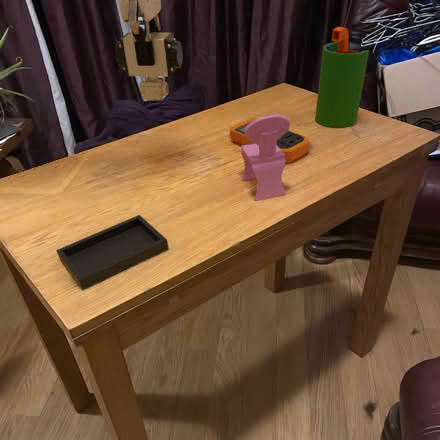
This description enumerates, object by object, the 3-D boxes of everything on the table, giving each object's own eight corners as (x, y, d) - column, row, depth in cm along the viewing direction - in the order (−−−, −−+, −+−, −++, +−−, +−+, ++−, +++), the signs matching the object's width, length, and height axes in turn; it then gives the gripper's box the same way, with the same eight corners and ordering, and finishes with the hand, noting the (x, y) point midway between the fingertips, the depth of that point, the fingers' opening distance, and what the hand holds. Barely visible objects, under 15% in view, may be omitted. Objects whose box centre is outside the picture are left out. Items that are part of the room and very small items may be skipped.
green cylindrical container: (362, 118, 104) (379, 23, 90) (344, 131, 100) (359, 34, 86) (326, 109, 109) (337, 18, 95) (307, 121, 105) (315, 28, 91)
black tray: (82, 290, 66) (78, 280, 64) (59, 259, 71) (55, 250, 70) (168, 249, 72) (167, 239, 70) (141, 223, 78) (139, 214, 76)
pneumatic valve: (181, 102, 83) (174, 32, 74) (123, 101, 84) (110, 32, 76) (187, 92, 87) (181, 24, 78) (132, 91, 88) (120, 24, 80)
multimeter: (286, 167, 89) (287, 151, 87) (227, 141, 99) (227, 127, 97) (312, 152, 93) (314, 137, 91) (254, 129, 103) (254, 115, 101)
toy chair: (274, 172, 88) (277, 97, 77) (291, 193, 82) (296, 115, 71) (236, 179, 87) (233, 104, 76) (250, 202, 81) (249, 123, 70)
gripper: (127, -69, 75) (143, 47, 87) (92, -57, 63) (117, 75, 75) (168, -70, 74) (179, 46, 86) (141, -59, 62) (159, 75, 74)
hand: (150, 58), depth 81 cm, fingers closed on pneumatic valve, 5 cm apart
